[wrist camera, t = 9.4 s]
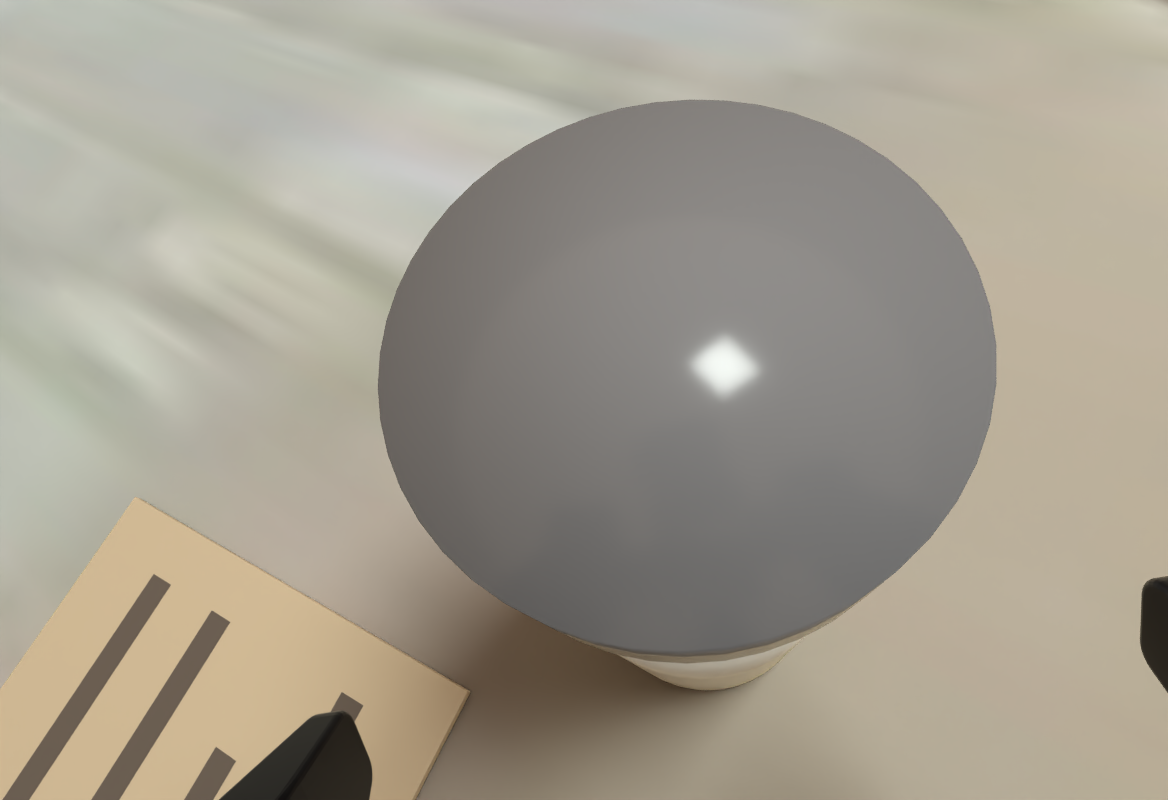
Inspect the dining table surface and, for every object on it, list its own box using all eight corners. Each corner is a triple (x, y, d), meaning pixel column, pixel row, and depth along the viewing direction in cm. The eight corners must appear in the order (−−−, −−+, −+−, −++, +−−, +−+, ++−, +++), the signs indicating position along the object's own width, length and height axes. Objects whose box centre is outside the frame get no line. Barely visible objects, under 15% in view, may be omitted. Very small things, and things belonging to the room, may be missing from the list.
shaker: (688, 745, 17) (612, 813, 5) (553, 562, 19) (283, 316, 7) (862, 596, 17) (1153, 350, 6) (711, 435, 20) (698, 21, 8)
